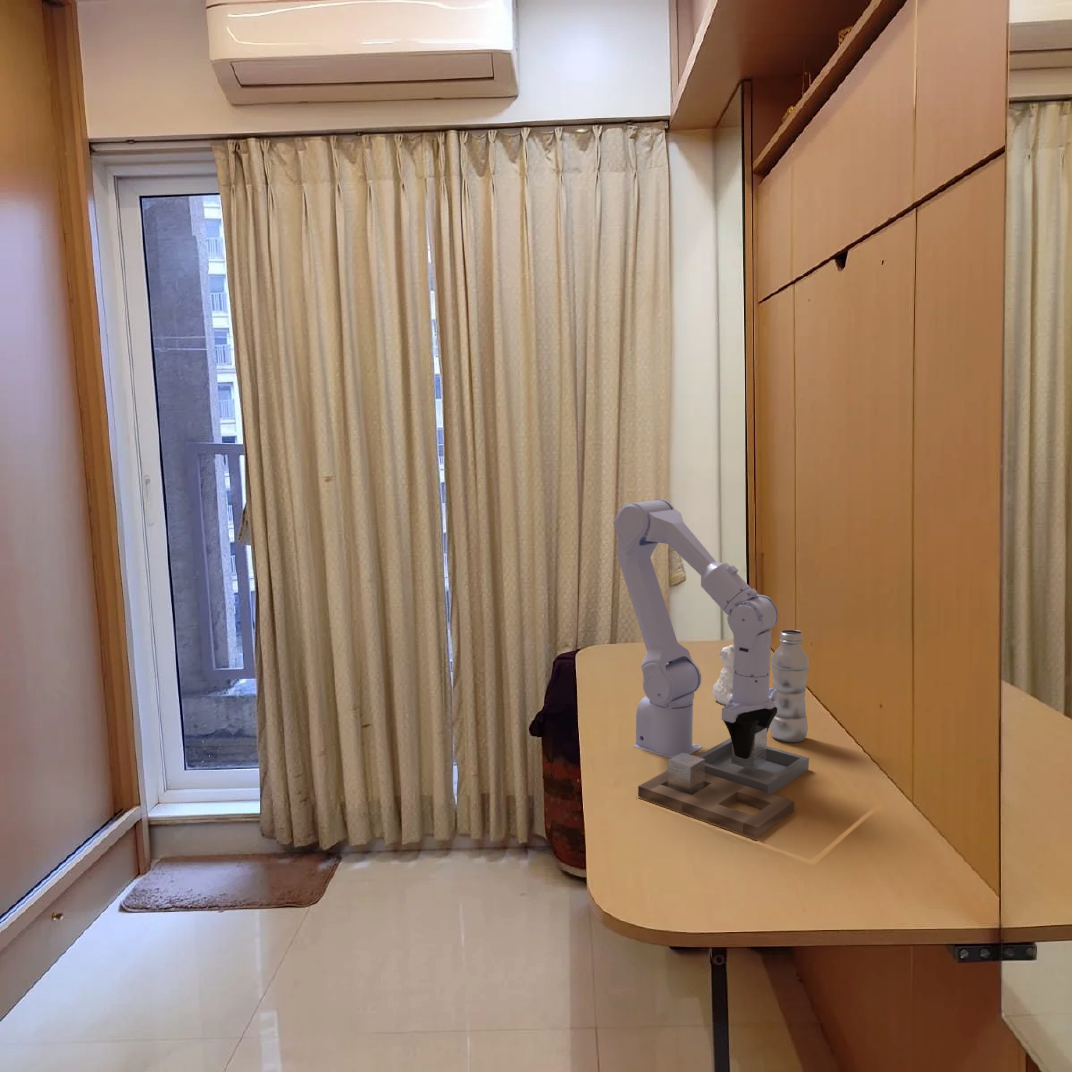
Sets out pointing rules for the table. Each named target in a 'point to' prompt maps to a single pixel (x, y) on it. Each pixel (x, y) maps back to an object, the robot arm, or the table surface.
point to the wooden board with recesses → (721, 803)
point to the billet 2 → (754, 750)
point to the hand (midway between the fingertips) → (748, 752)
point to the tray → (764, 778)
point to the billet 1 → (686, 773)
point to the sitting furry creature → (725, 676)
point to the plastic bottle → (790, 688)
